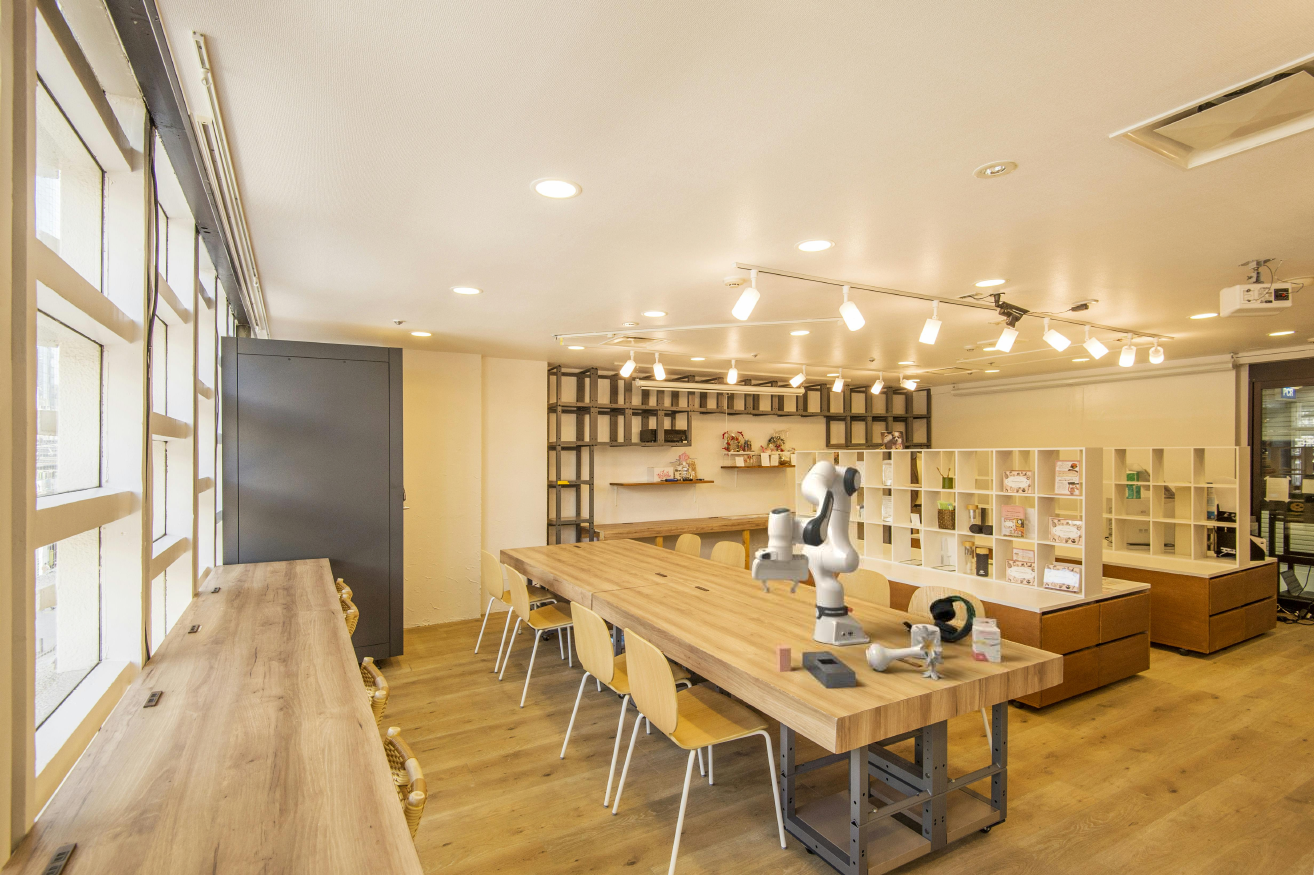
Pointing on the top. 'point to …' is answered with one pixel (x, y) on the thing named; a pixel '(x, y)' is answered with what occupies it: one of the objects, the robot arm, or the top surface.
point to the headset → (949, 618)
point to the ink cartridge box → (986, 640)
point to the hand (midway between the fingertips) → (780, 592)
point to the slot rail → (828, 669)
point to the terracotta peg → (783, 658)
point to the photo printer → (917, 633)
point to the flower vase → (909, 653)
